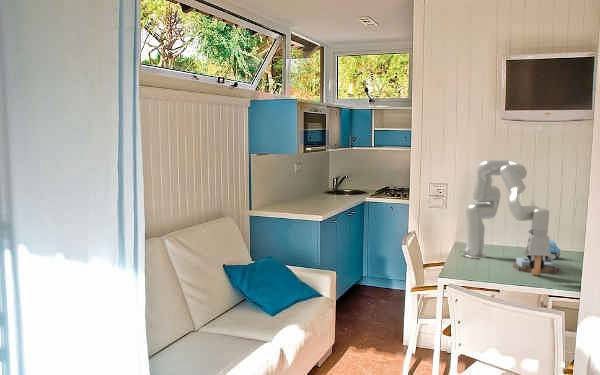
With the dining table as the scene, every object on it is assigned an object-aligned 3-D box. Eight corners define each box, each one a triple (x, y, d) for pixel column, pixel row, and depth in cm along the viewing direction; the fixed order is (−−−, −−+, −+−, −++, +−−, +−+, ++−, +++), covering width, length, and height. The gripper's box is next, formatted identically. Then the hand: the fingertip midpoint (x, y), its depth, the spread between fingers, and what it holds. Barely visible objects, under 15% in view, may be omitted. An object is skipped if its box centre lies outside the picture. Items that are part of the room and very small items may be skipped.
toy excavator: (531, 253, 327) (533, 225, 325) (561, 258, 316) (563, 229, 314) (527, 255, 320) (529, 227, 318) (557, 260, 310) (559, 231, 308)
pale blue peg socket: (523, 272, 277) (523, 259, 276) (514, 265, 291) (514, 253, 290) (558, 273, 276) (559, 261, 275) (548, 266, 290) (548, 254, 289)
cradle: (519, 274, 278) (520, 266, 277) (511, 268, 291) (511, 260, 290) (561, 276, 277) (561, 267, 276) (551, 269, 290) (551, 261, 289)
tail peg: (533, 275, 271) (534, 256, 269) (530, 272, 274) (531, 253, 273) (541, 275, 270) (543, 256, 269) (538, 273, 274) (540, 254, 273)
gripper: (525, 233, 266) (522, 269, 269) (559, 235, 265) (556, 271, 268) (519, 230, 274) (517, 265, 276) (553, 232, 273) (550, 266, 275)
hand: (536, 267), depth 272 cm, fingers closed on tail peg, 4 cm apart
